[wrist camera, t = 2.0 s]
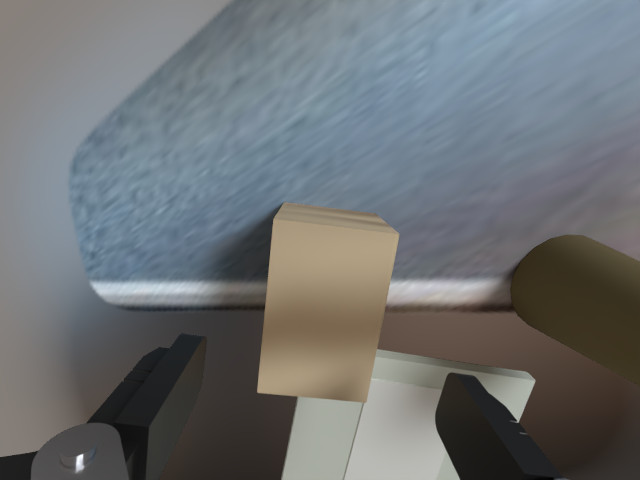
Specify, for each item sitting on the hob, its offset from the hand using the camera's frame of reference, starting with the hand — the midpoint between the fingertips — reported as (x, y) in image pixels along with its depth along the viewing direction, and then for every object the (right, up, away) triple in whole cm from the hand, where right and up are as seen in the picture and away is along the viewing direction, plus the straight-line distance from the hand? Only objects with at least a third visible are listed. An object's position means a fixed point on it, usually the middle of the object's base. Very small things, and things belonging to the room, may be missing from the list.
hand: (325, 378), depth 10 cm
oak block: (0, +2, +8) cm, 8 cm away
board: (+5, -8, +11) cm, 14 cm away
